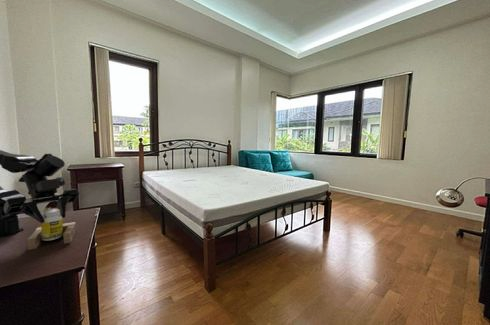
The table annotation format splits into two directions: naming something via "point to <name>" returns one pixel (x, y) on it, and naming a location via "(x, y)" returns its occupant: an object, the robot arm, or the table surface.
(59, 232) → the supplement bottle
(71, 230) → the notched board
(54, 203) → the grandmother figurine
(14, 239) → the table surface
